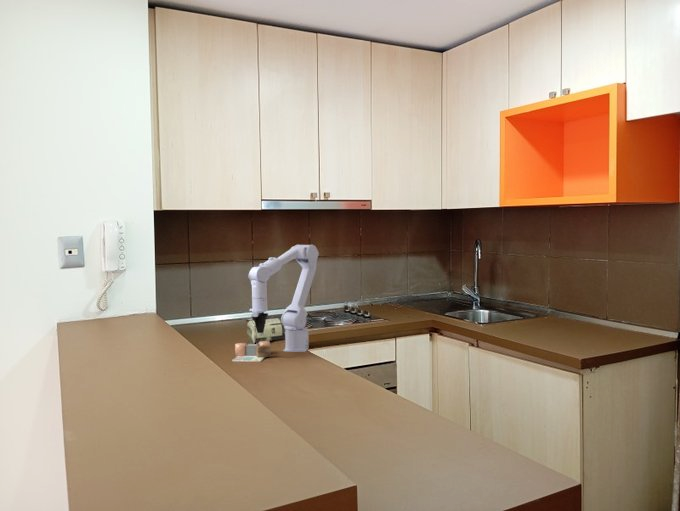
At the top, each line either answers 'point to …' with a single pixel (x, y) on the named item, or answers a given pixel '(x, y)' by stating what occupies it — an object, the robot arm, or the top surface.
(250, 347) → the matte grey cube
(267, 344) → the peach rounded cylinder
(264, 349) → the walnut block
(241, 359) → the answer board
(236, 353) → the peach glossy domed part
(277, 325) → the coffee can
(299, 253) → the robot arm
